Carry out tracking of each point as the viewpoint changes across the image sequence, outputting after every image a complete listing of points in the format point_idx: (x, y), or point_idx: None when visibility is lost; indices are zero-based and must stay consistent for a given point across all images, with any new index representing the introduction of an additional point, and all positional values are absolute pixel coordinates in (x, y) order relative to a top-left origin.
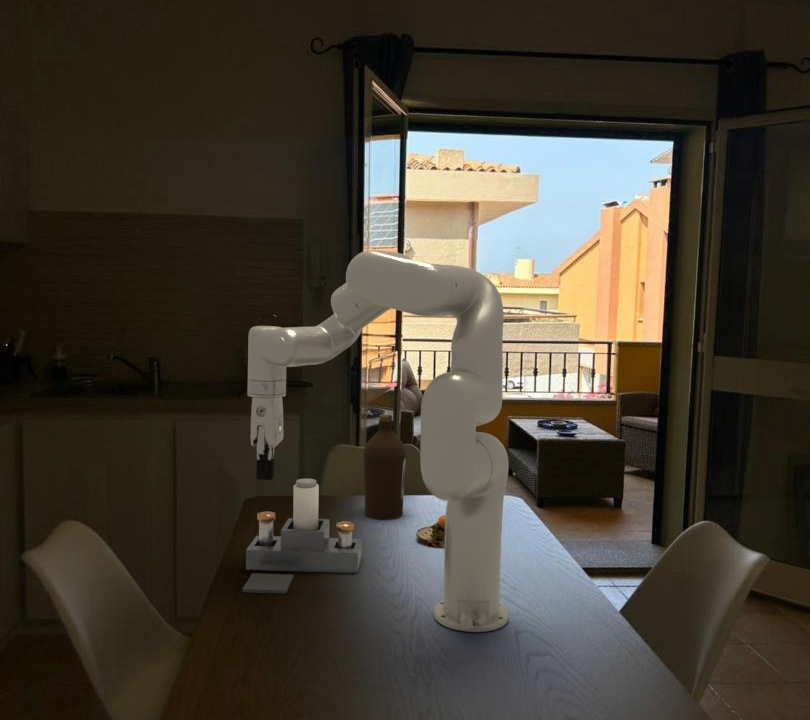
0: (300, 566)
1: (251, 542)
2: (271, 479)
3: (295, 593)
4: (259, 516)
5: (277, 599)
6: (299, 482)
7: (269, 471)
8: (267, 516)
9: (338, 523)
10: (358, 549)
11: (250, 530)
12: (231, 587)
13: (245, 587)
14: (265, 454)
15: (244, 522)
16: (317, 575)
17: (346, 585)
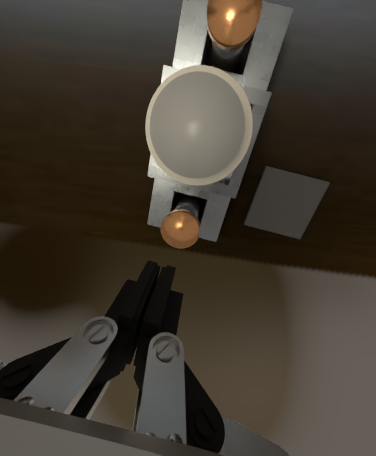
0: None
1: None
2: (175, 268)
3: (331, 167)
4: (192, 244)
5: (343, 195)
6: (223, 165)
7: (169, 294)
8: (199, 230)
9: (224, 35)
10: (266, 3)
11: (49, 216)
12: (275, 248)
13: (296, 235)
14: (215, 412)
15: (14, 223)
16: (265, 123)
17: (333, 69)
